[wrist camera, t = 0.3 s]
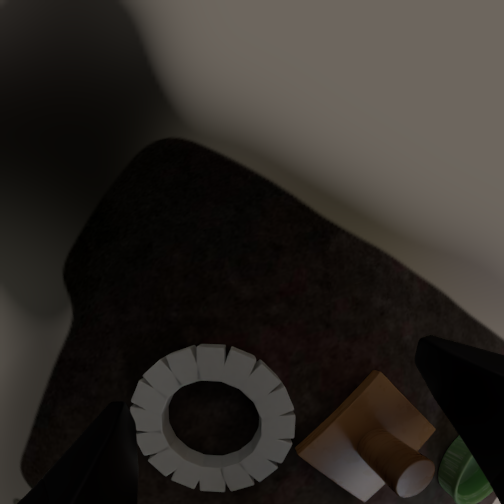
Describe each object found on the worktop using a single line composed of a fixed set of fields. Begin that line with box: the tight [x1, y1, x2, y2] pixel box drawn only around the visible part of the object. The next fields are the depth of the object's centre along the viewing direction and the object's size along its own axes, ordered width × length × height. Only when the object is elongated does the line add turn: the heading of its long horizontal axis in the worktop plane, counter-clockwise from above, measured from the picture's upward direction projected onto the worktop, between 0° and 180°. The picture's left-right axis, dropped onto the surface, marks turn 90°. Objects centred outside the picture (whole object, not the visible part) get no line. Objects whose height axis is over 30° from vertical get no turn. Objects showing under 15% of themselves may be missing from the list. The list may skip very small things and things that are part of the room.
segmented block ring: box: [130, 344, 295, 492], centre depth 20 cm, size 12×12×2 cm
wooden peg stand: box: [295, 370, 436, 502], centre depth 17 cm, size 9×9×8 cm
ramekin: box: [438, 436, 493, 504], centre depth 18 cm, size 9×9×4 cm
